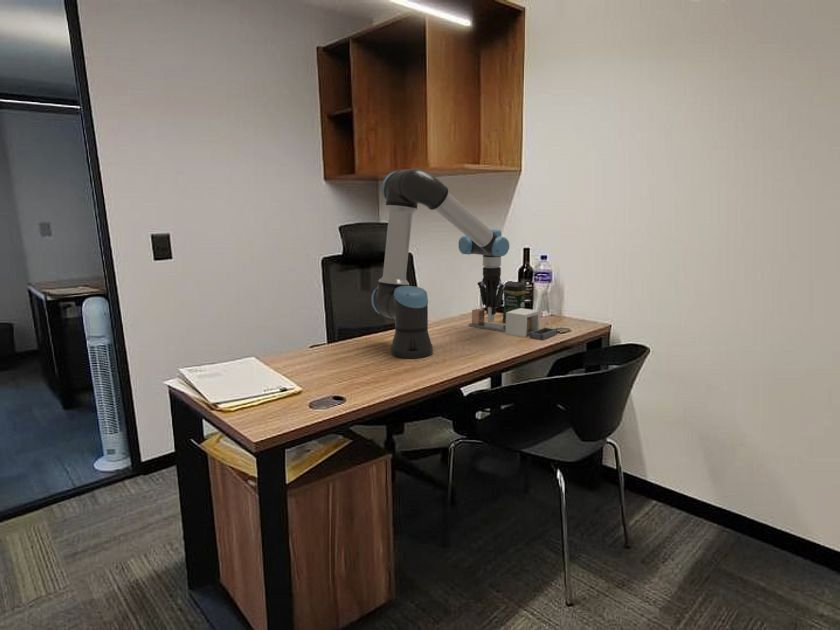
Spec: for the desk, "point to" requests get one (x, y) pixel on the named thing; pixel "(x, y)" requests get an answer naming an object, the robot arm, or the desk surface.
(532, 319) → the tunnel
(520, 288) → the coffee jar
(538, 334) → the tray
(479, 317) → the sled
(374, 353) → the desk surface
